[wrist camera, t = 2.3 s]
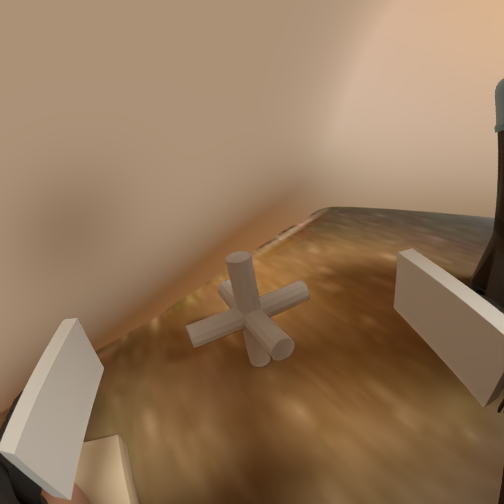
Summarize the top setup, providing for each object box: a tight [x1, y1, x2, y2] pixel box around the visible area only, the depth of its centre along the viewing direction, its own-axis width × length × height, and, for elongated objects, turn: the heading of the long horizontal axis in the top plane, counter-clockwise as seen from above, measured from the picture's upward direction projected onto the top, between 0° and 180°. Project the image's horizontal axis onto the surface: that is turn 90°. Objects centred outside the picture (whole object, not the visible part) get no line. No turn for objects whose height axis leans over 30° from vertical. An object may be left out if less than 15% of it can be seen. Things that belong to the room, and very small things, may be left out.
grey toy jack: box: [185, 251, 310, 367], centre depth 23 cm, size 10×10×10 cm
